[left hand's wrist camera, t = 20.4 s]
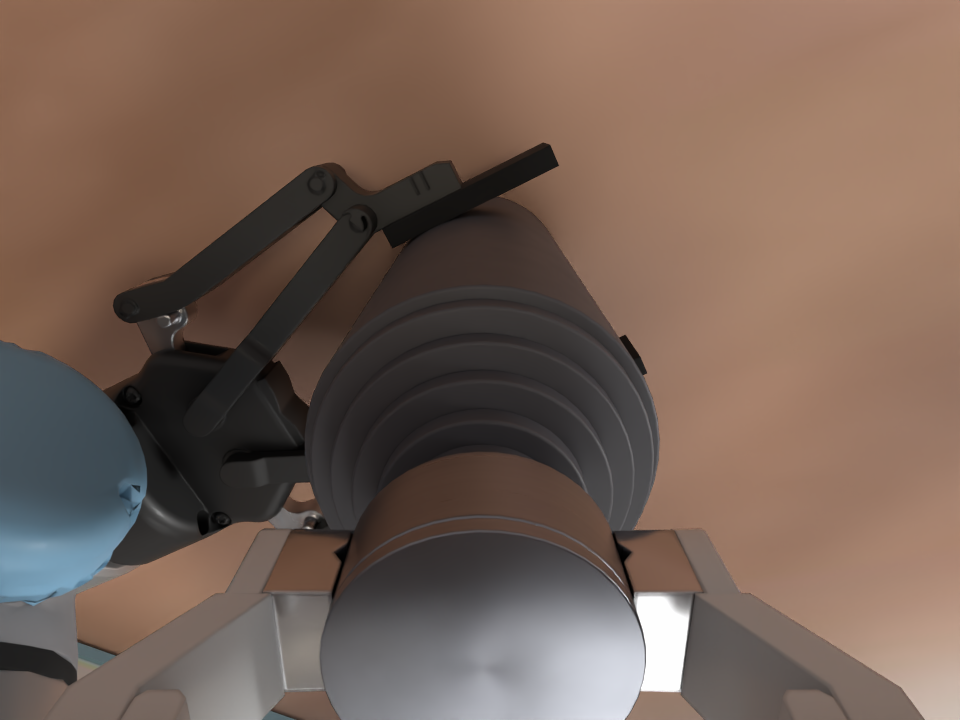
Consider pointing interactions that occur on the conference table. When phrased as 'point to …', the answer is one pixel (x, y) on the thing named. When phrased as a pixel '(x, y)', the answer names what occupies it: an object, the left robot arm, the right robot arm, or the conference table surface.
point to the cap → (482, 601)
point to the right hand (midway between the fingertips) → (594, 258)
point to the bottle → (482, 372)
